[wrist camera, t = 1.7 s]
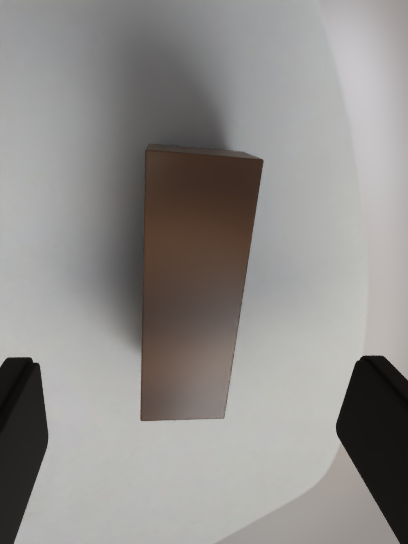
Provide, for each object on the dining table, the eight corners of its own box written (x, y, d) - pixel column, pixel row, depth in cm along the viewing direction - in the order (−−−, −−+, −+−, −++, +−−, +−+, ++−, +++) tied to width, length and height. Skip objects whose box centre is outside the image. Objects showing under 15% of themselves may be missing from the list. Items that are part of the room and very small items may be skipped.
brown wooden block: (148, 142, 15) (145, 149, 11) (238, 149, 15) (263, 159, 12) (143, 365, 19) (140, 421, 16) (212, 364, 20) (224, 418, 16)
